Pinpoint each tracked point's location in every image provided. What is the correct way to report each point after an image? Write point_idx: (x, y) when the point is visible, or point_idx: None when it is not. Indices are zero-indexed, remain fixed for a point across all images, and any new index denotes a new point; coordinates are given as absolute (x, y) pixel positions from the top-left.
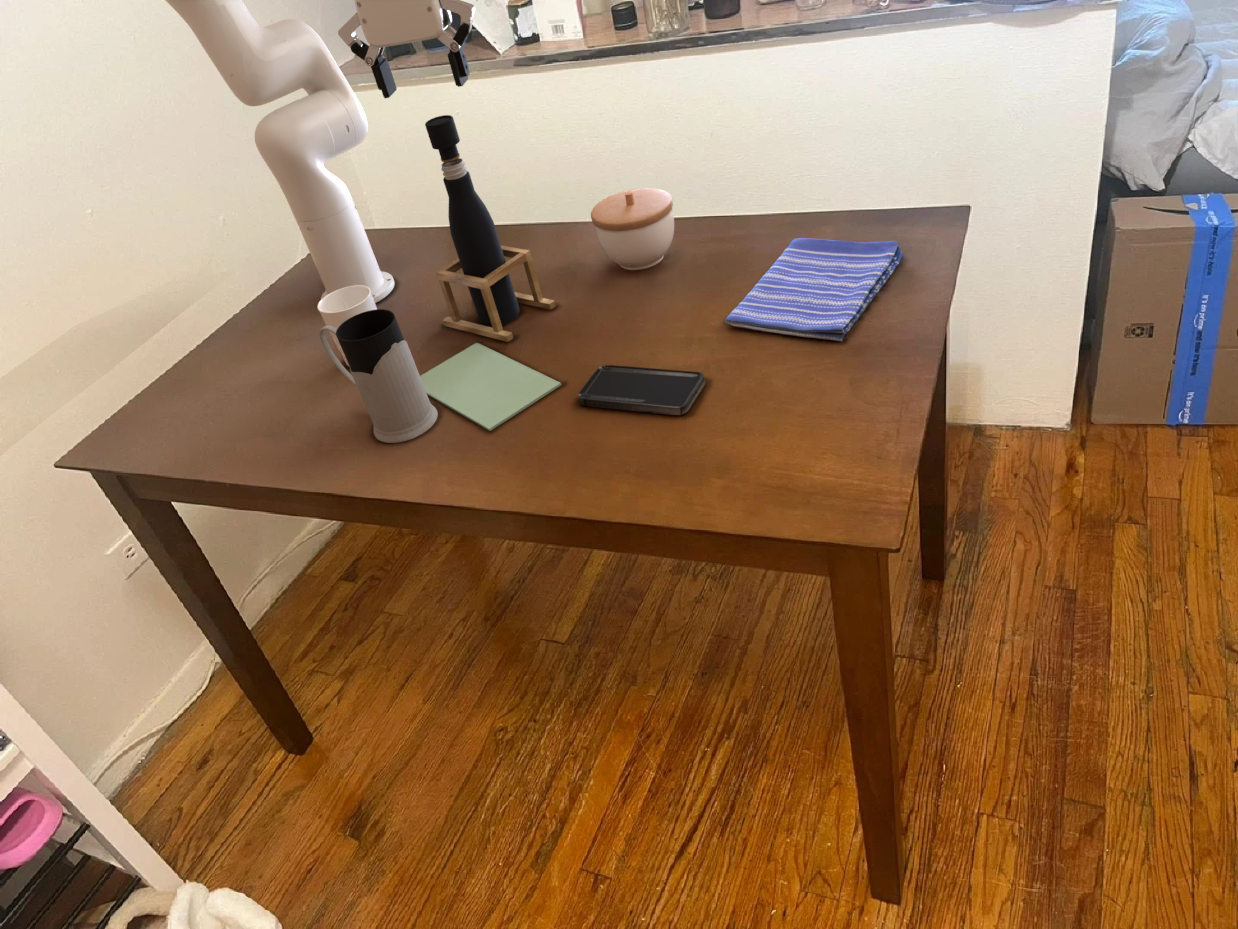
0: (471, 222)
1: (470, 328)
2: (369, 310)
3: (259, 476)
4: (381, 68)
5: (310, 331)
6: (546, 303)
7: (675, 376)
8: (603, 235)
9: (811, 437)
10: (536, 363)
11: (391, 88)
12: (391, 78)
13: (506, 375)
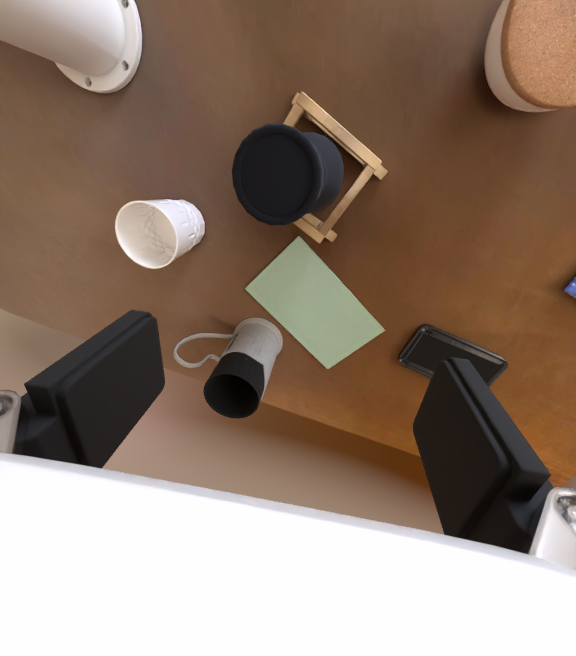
0: (315, 210)
1: None
2: (183, 246)
3: (168, 367)
4: (100, 454)
5: (79, 133)
6: (377, 176)
7: (484, 359)
8: (503, 85)
9: (548, 432)
10: (362, 289)
11: (152, 364)
12: (130, 354)
13: (335, 305)
